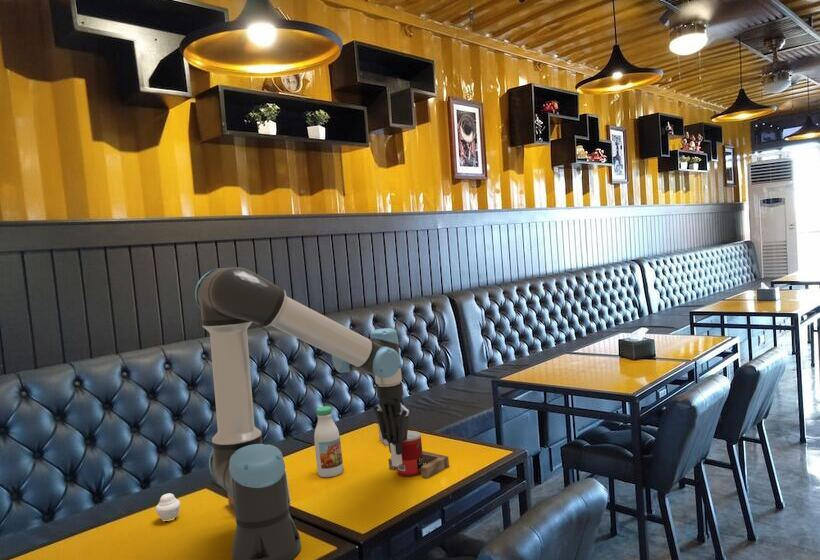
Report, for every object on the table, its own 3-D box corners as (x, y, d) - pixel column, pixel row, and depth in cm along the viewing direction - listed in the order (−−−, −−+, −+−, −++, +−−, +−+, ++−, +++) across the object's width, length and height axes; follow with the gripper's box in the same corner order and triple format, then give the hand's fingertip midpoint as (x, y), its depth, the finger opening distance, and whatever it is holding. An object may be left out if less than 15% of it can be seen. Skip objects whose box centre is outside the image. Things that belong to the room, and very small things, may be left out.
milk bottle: (313, 477, 175) (306, 411, 174) (325, 467, 182) (318, 404, 181) (336, 478, 173) (329, 411, 171) (347, 468, 180) (341, 404, 179)
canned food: (424, 475, 168) (421, 437, 168) (396, 478, 168) (393, 440, 168) (423, 465, 176) (420, 429, 175) (397, 468, 176) (393, 432, 175)
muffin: (177, 511, 160) (174, 486, 160) (185, 518, 156) (182, 492, 155) (153, 520, 156) (150, 494, 156) (161, 527, 152) (158, 500, 151)
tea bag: (389, 438, 204) (386, 410, 203) (396, 444, 198) (393, 415, 197) (379, 441, 203) (376, 412, 202) (386, 446, 196) (383, 417, 196)
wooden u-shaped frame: (427, 478, 166) (426, 468, 166) (389, 468, 176) (388, 459, 176) (449, 466, 173) (448, 456, 173) (411, 457, 184) (410, 448, 183)
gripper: (415, 382, 165) (423, 464, 166) (382, 378, 174) (390, 456, 175) (396, 388, 160) (405, 473, 161) (363, 384, 168) (372, 465, 170)
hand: (397, 464), depth 168 cm, fingers closed
